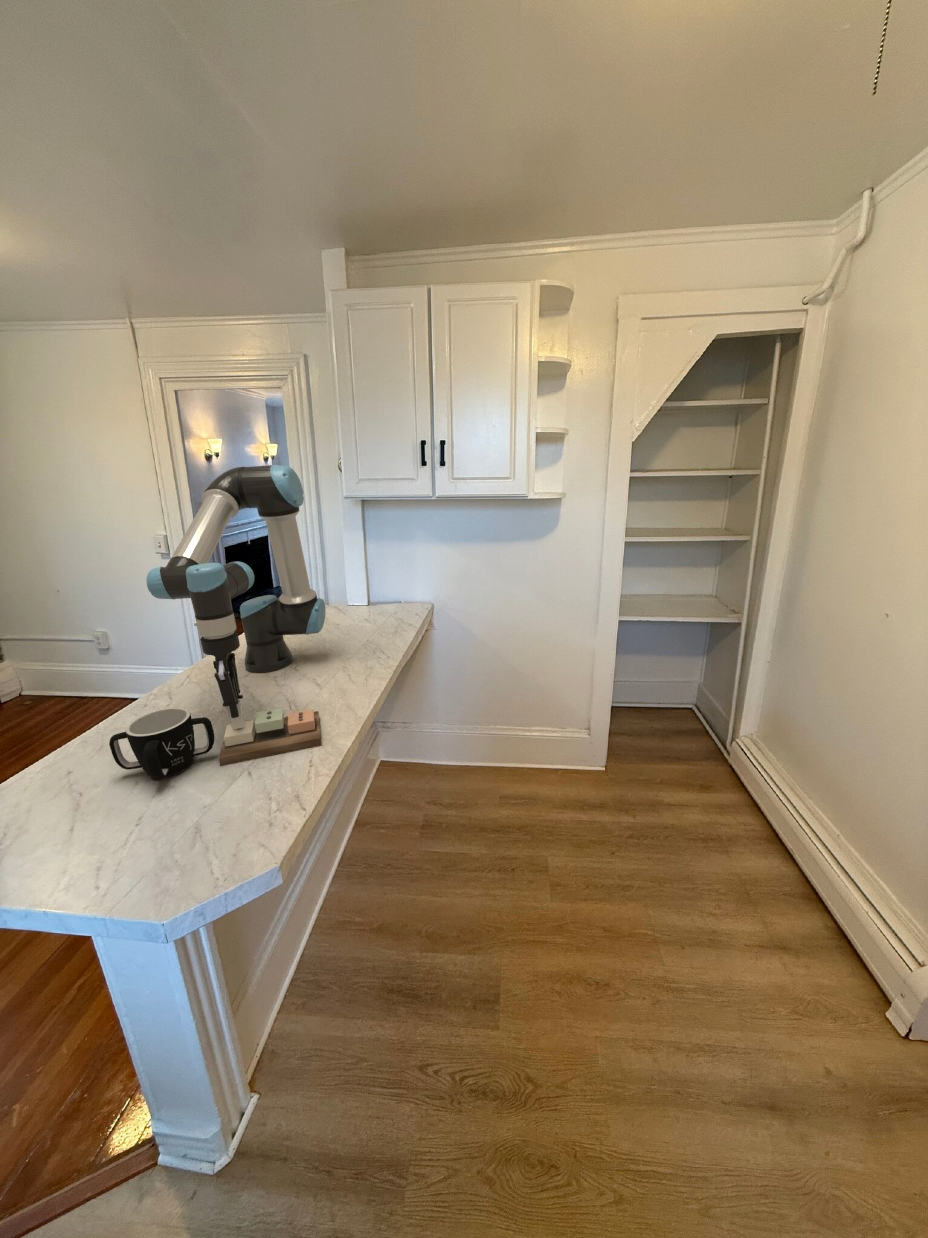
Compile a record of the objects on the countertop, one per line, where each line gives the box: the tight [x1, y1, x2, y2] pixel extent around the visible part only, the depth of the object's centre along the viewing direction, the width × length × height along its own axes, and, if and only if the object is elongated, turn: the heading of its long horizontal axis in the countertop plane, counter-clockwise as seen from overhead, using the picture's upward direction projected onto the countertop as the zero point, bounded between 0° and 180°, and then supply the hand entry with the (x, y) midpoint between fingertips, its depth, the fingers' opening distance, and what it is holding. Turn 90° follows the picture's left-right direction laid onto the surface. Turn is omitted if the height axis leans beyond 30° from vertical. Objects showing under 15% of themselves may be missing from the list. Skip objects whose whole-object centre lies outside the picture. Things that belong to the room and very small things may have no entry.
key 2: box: [254, 707, 285, 733], centre depth 114 cm, size 6×6×3 cm
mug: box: [109, 707, 215, 782], centre depth 105 cm, size 16×16×12 cm
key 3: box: [287, 708, 315, 734], centre depth 117 cm, size 6×6×3 cm
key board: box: [218, 710, 322, 767], centre depth 116 cm, size 14×22×2 cm, turn 108°
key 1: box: [223, 719, 256, 746], centre depth 113 cm, size 6×6×3 cm
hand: (238, 726), depth 112 cm, fingers closed
